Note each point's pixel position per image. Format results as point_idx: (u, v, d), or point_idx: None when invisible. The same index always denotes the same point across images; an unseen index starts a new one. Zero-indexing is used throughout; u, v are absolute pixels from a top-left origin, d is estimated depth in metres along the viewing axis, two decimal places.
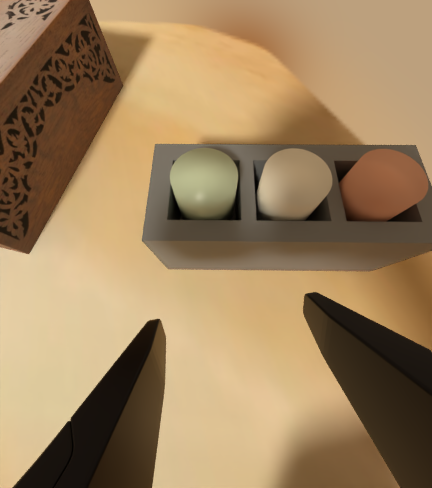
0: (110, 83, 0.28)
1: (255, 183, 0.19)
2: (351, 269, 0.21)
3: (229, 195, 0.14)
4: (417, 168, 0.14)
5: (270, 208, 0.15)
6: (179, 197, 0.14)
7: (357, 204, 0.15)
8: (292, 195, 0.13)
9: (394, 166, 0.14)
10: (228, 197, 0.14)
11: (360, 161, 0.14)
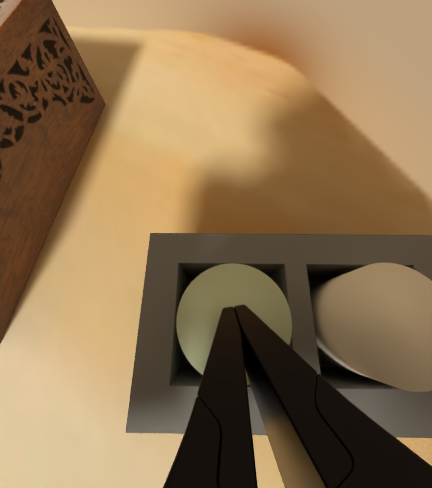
0: (89, 103, 0.22)
1: None
2: None
3: None
4: None
5: (344, 362, 0.09)
6: None
7: None
8: (397, 367, 0.07)
9: None
10: None
11: None
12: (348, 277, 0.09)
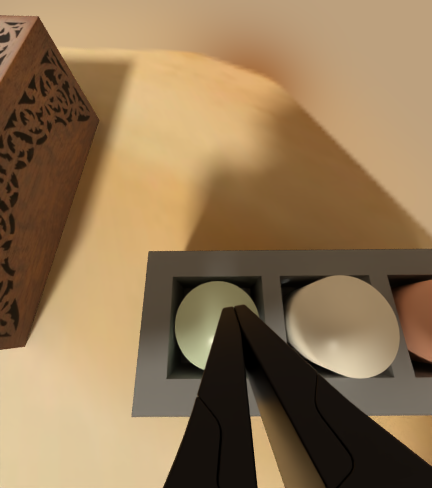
0: (85, 121, 0.24)
1: None
2: None
3: None
4: None
5: (308, 357, 0.11)
6: (187, 358, 0.11)
7: (428, 352, 0.11)
8: (345, 359, 0.09)
9: None
10: None
11: None
12: (310, 288, 0.10)
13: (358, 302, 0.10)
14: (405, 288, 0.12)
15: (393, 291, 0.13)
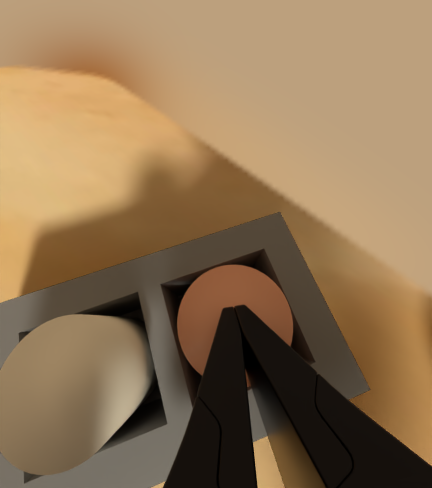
0: None
1: None
2: None
3: None
4: (271, 290, 0.09)
5: None
6: None
7: None
8: (50, 447, 0.06)
9: (236, 298, 0.09)
10: None
11: (182, 307, 0.08)
12: (14, 350, 0.07)
13: (78, 349, 0.07)
14: None
15: None
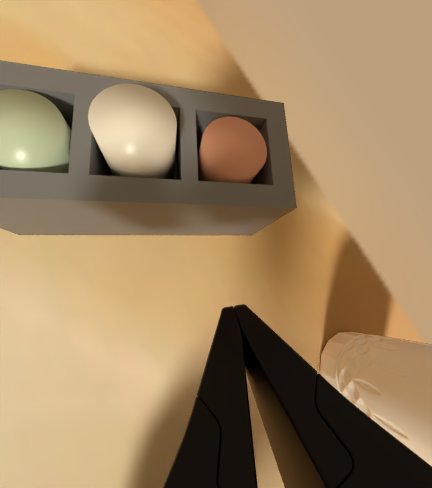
0: None
1: None
2: (232, 233, 0.21)
3: (50, 154, 0.12)
4: (260, 140, 0.15)
5: (109, 160, 0.12)
6: None
7: (206, 173, 0.15)
8: (123, 144, 0.11)
9: (239, 136, 0.14)
10: (50, 156, 0.12)
11: (208, 128, 0.14)
12: (105, 91, 0.11)
13: (146, 106, 0.12)
14: None
15: None
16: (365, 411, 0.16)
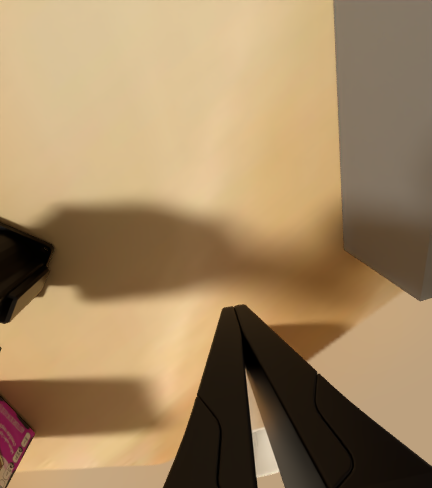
0: None
1: None
2: (347, 232, 0.20)
3: None
4: None
5: None
6: None
7: None
8: None
9: None
10: None
11: None
12: None
13: None
14: None
15: None
16: None
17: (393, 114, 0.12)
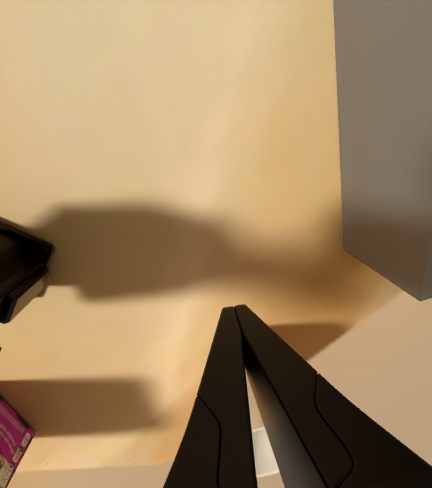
0: None
1: None
2: (347, 232, 0.20)
3: None
4: None
5: None
6: None
7: None
8: None
9: None
10: None
11: None
12: None
13: None
14: None
15: None
16: None
17: (393, 114, 0.12)
